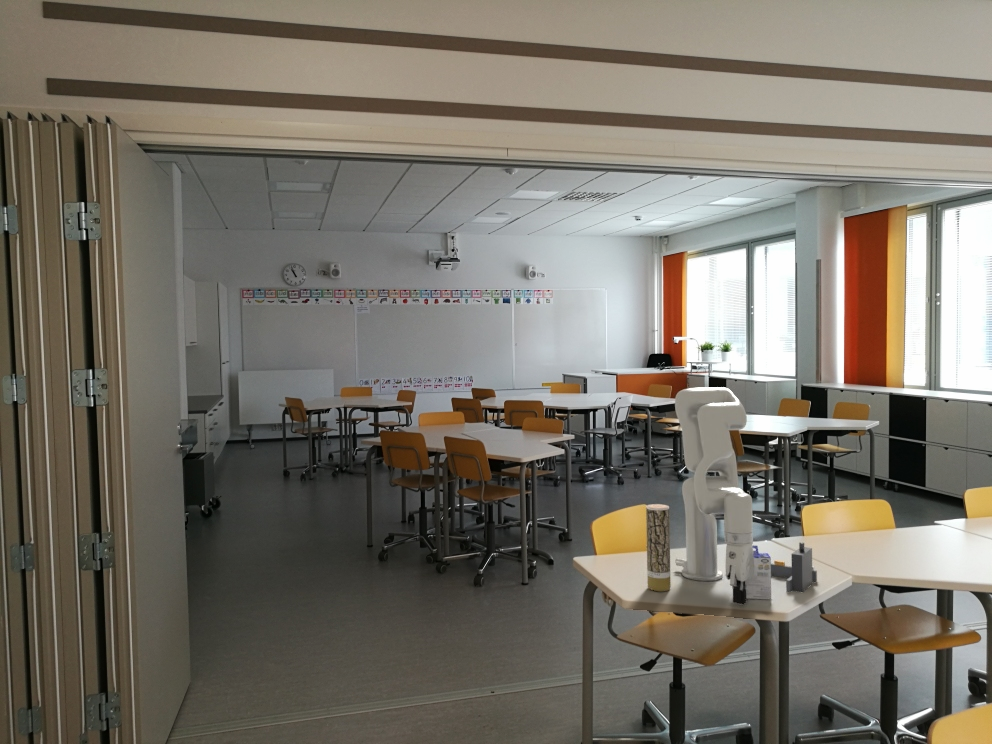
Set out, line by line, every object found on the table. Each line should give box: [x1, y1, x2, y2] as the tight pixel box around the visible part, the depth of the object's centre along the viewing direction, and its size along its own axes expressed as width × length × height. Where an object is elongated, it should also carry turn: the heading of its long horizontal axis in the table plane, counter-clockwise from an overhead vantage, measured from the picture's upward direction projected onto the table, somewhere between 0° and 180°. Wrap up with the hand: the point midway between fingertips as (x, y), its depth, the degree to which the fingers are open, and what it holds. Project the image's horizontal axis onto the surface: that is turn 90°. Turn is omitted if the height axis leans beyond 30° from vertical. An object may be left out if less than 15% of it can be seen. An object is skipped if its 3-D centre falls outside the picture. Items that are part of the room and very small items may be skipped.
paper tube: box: [645, 503, 671, 592], centre depth 216 cm, size 7×7×25 cm
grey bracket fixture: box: [771, 541, 818, 593], centre depth 219 cm, size 18×15×13 cm
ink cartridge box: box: [744, 545, 772, 600], centre depth 207 cm, size 10×6×14 cm, turn 78°
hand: (739, 602), depth 199 cm, fingers closed
